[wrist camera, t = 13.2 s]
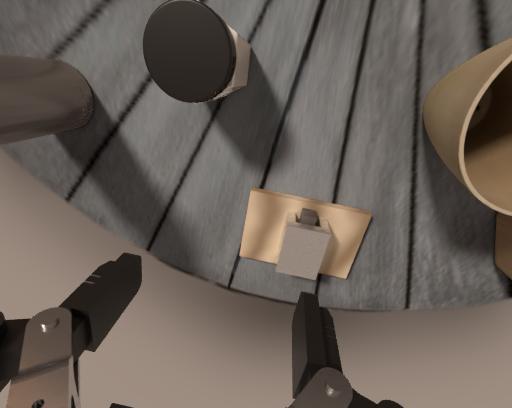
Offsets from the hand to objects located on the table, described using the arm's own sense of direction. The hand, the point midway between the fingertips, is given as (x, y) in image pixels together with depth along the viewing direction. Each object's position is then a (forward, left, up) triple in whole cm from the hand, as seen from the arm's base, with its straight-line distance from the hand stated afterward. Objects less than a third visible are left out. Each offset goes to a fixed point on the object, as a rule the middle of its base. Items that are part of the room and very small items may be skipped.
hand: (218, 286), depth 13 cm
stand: (+8, -12, -28) cm, 31 cm away
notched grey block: (+8, -12, -27) cm, 30 cm away
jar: (-8, +10, -28) cm, 31 cm away
